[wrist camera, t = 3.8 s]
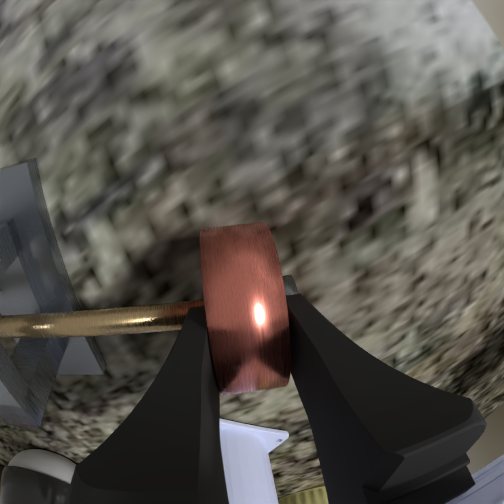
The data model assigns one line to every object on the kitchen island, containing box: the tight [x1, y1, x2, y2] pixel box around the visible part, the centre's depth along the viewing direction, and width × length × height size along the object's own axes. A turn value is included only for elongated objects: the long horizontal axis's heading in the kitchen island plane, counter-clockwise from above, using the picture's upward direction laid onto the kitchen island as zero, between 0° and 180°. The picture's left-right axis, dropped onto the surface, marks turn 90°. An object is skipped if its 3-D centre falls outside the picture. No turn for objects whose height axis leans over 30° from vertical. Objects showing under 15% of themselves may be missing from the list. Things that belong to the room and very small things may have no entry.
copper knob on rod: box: [0, 222, 298, 395], centre depth 11 cm, size 17×6×6 cm, turn 93°
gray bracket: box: [0, 158, 106, 429], centre depth 11 cm, size 5×12×6 cm, turn 3°
